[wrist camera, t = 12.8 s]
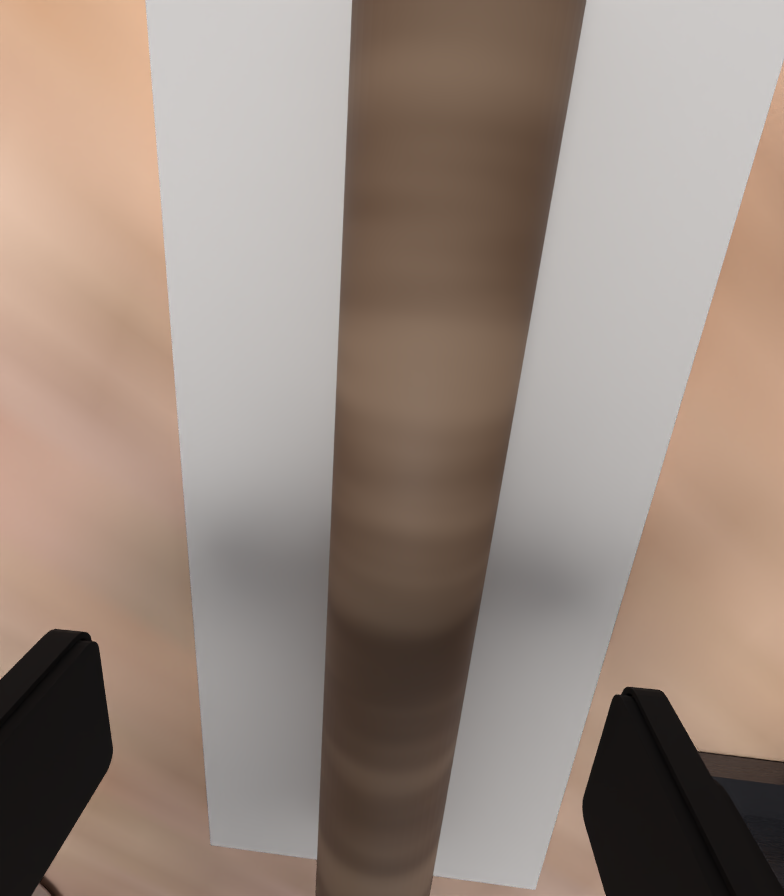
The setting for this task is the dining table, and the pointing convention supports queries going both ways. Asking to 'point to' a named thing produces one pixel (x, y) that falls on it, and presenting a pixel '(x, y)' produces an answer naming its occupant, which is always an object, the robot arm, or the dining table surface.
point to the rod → (426, 396)
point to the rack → (755, 800)
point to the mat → (537, 405)
